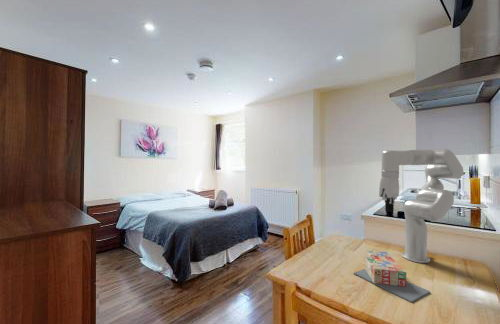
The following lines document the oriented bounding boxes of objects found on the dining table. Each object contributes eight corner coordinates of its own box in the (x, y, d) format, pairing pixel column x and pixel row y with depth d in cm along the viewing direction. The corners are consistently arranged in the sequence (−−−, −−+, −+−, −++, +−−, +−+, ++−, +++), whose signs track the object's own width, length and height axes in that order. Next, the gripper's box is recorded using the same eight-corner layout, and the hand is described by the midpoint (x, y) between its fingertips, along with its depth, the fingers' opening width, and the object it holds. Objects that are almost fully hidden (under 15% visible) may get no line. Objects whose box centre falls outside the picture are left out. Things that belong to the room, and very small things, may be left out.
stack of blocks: (386, 264, 114) (359, 261, 117) (386, 251, 114) (360, 249, 117) (406, 287, 93) (373, 283, 96) (406, 271, 93) (373, 268, 96)
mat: (372, 267, 111) (372, 266, 111) (430, 292, 91) (430, 291, 91) (353, 274, 105) (353, 272, 105) (411, 302, 84) (411, 301, 84)
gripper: (390, 174, 121) (390, 208, 121) (373, 174, 114) (373, 211, 114) (406, 175, 115) (405, 211, 115) (389, 175, 108) (388, 214, 108)
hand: (389, 211), depth 115 cm, fingers closed
